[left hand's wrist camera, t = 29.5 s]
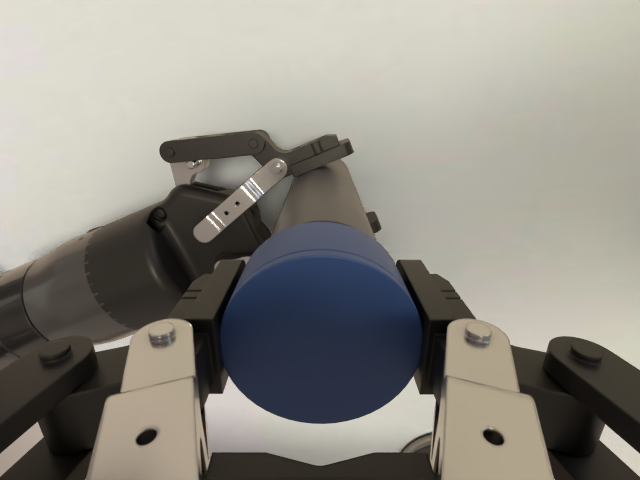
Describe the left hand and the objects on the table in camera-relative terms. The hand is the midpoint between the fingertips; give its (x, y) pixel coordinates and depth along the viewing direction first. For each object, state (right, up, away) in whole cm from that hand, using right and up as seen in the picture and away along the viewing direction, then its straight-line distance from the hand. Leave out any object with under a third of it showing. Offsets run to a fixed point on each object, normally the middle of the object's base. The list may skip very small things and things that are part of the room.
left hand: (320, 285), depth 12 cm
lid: (0, -1, -3) cm, 3 cm away
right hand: (+3, +5, +10) cm, 11 cm away
